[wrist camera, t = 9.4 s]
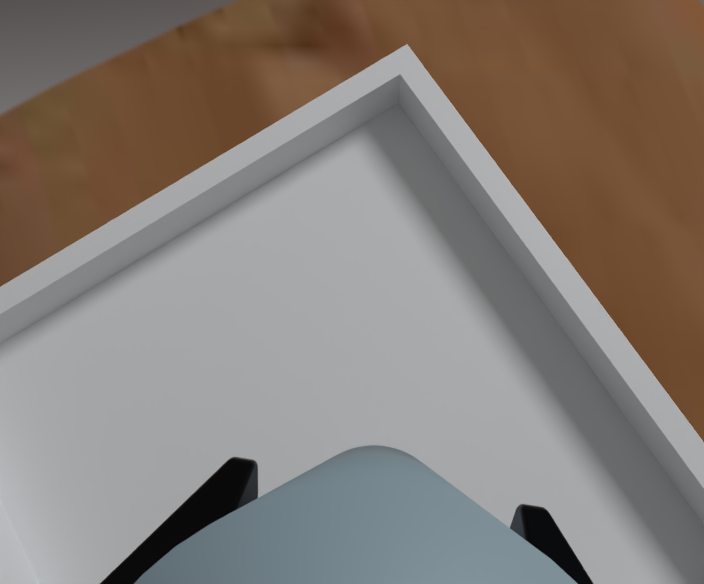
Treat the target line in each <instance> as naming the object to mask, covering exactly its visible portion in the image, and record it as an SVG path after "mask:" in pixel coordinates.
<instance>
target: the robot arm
mask: <svg viewBox="0 0 704 584" xmlns="http://www.w3.org/2000/svg"><path fill="white" fill-rule="evenodd" d="M257 498H258V465H257V462H256V461H255V460H253V459H247V458H241V457H232V458H230V459H228V460H227V461H226V462H225V463H224V464H223V465H222V466H221V467H220V468H219V469H218V470H217V471H216V472H215V473H214V474H213V475H212V476H211V477H210V478H209V479H208V480H207V481H206V482H205V483H204V484H202V485H201V486H200V487H199V488H198V489H197V490H196V491H195V492H194V493H193V494H192V495H191V496H190V497H189V498H188V499H187V500H186V501H185V502H184V503H183V504H182V505H181V506H180V507H179V508H178V509H177V510H176V511H174V512H173V513H172V514H171V515H170V516H169V517H168V518H167V519H166V520H165V521H164V522H163V523H162V524H161V525H160V526H159V527H158V528H157V529H156V530H155V531H154V532H153V533H152V534H151V535H150V536H149V537H148V538H147V539H145V540H144V541H143V542H142V543H141V544H140V545H139V546H138V547H137V548H136V549H135V550H134V551H133V552H132V553H131V554H130V555H129V556H128V557H127V558H126V559H125V560H124V561H123V562H122V563H121V564H120V565H119V566H117V567H116V568H115V569H114V570H113V571H112V572H111V573H110V574H109V575H108V576H107V577H106V578H105V579H104V580H103V581H102V582H101V583H100V584H134V583H135V582H136V581H137V580H138V579H139V578H140V577H141V576H142V574H144V573H145V572H146V571H147V570H148V569H150V568H151V567H152V566H153V565H154V564H155V563H157V562H158V561H159V560H160V559H161V558H162V557H164V556H165V555H166V554H167V553H168V552H169V551H171V550H172V549H173V548H174V547H176V546H177V545H179V544H180V543H182V542H183V541H185V540H186V539H188V538H189V537H191V536H192V535H194V534H196V533H197V532H199V531H200V530H202V529H203V528H205V527H206V526H208V525H209V524H211V523H213V522H215V521H217V520H219V519H220V518H222V517H224V516H226V515H228V514H230V513H231V512H233V511H235V510H237V509H239V508H241V507H242V506H244V505H246V504H248V503H250V502H252V501H253V500H255V499H257ZM510 529H511V530H513V531H514V532H515V533H517V534H518V535H519V536H521V537H522V538H523V539H525V540H526V541H527V542H529V543H530V544H531V545H533V546H534V547H535V548H537V549H538V550H539V551H541V552H542V553H544V554H545V555H546V556H548V557H549V558H550V559H551V560H553V561H554V562H555V563H556V564H557V565H558V566H559V567H560V568H561V569H562V570H563V571H565V572H566V573H567V574H568V575H569V576H570V577H571V578H572V579H573V580H574V581H575V582H576V583H578V584H593V582H592V580H591V579H590V577H589V576H588V574H587V572H586V571H585V569H584V567H583V566H582V564H581V563H580V561H579V559H578V558H577V556H576V555H575V553H574V551H573V550H572V548H571V547H570V545H569V543H568V542H567V540H566V539H565V537H564V535H563V534H562V532H561V531H560V529H559V527H558V526H557V524H556V523H555V521H554V519H553V518H552V516H551V515H550V513H549V512H548V510H546V509H545V508H543V507H540V506H533V505H527V504H520V505H519V506H518V507H517V508H516V511H515V514H514V517H513V520H512V523H511V526H510Z"/></svg>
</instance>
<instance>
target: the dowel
mask: <svg viewBox="0 0 704 584" xmlns="http://www.w3.org/2000/svg"><path fill="white" fill-rule="evenodd" d="M134 584H578V583H576V582H575V581H574V580H573V579H572V578H571V577H570V576H569V575H568V574H567V573H566V572H565V571H563V570H562V569H561V568H560V567H559V566H558V565H557V564H556V563H555V562H554V561H553V560H551V559H550V558H549V557H548V556H546V555H545V554H544V553H542V552H541V551H539V550H538V549H537V548H535V547H534V546H533V545H531V544H530V543H529V542H527V541H526V540H525V539H523V538H522V537H521V536H519V535H518V534H517V533H515V532H514V531H513V530H511V529H510V528H509V527H507V526H506V525H505V524H503V523H502V522H501V521H499V520H498V519H497V518H495V517H494V516H493V515H491V514H490V513H489V512H487V511H486V510H485V509H483V508H482V507H481V506H479V505H478V504H477V503H475V502H474V501H473V500H471V499H470V498H469V497H467V496H466V495H465V494H463V493H462V492H461V491H459V490H458V489H457V488H455V487H454V486H453V485H451V484H450V483H449V482H447V481H446V480H445V479H443V478H442V477H441V476H439V475H438V474H437V473H435V472H434V471H433V470H431V469H430V468H429V467H427V466H426V465H425V464H423V463H422V462H421V461H419V460H418V459H416V458H415V457H413V456H412V455H410V454H408V453H406V452H404V451H401V450H398V449H396V448H391V447H387V446H378V445H370V446H361V447H355V448H352V449H349V450H346V451H344V452H342V453H340V454H338V455H336V456H334V457H332V458H330V459H328V460H327V461H325V462H323V463H321V464H319V465H317V466H316V467H314V468H312V469H310V470H308V471H307V472H305V473H303V474H301V475H299V476H297V477H296V478H294V479H292V480H290V481H288V482H286V483H285V484H283V485H281V486H279V487H277V488H275V489H274V490H272V491H270V492H268V493H266V494H264V495H263V496H261V497H259V498H257V499H255V500H253V501H252V502H250V503H248V504H246V505H244V506H242V507H241V508H239V509H237V510H235V511H233V512H231V513H230V514H228V515H226V516H224V517H222V518H220V519H219V520H217V521H215V522H213V523H211V524H209V525H208V526H206V527H205V528H203V529H202V530H200V531H199V532H197V533H196V534H194V535H192V536H191V537H189V538H188V539H186V540H185V541H183V542H182V543H180V544H179V545H177V546H176V547H174V548H173V549H172V550H171V551H169V552H168V553H167V554H166V555H165V556H164V557H162V558H161V559H160V560H159V561H158V562H157V563H155V564H154V565H153V566H152V567H151V568H150V569H148V570H147V571H146V572H145V573H144V574H142V576H141V577H140V578H139V579H138V580H137V581H136V582H135V583H134Z"/></svg>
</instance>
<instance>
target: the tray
mask: <svg viewBox="0 0 704 584" xmlns="http://www.w3.org/2000/svg"><path fill="white" fill-rule="evenodd" d="M370 445H378V446H387V447H391V448H396V449H398V450H401V451H404V452H406V453H408V454H410V455H412V456H413V457H415V458H416V459H418V460H419V461H421V462H422V463H423V464H425V465H426V466H427V467H429V468H430V469H431V470H433V471H434V472H435V473H437V474H438V475H439V476H441V477H442V478H443V479H445V480H446V481H447V482H449V483H450V484H451V485H453V486H454V487H455V488H457V489H458V490H459V491H461V492H462V493H463V494H465V495H466V496H467V497H469V498H470V499H471V500H473V501H474V502H475V503H477V504H478V505H479V506H481V507H482V508H483V509H485V510H486V511H487V512H489V513H490V514H491V515H493V516H494V517H495V518H497V519H498V520H499V521H501V522H502V523H503V524H505V525H506V526H507V527H509V528H510V526H511V523H512V520H513V517H514V514H515V511H516V508H517V507H518V506H519V505H520V504H527V505H533V506H540V507H543V508H545V509H546V510H548V512H549V513H550V515H551V516H552V518H553V519H554V521H555V523H556V524H557V526H558V527H559V529H560V531H561V532H562V534H563V535H564V537H565V539H566V540H567V542H568V543H569V545H570V547H571V548H572V550H573V551H574V553H575V555H576V556H577V558H578V559H579V561H580V563H581V564H582V566H583V567H584V569H585V571H586V572H587V574H588V576H589V577H590V579H591V580H592V582H593V584H704V442H703V441H702V439H701V438H700V437H699V435H698V434H697V433H696V431H695V430H694V429H693V427H692V426H691V425H690V423H689V422H688V421H687V419H686V418H685V417H684V415H683V414H682V413H681V411H680V410H679V408H678V407H677V406H676V404H675V403H674V402H673V400H672V399H671V398H670V396H669V395H668V394H667V392H666V391H665V390H664V388H663V387H662V386H661V384H660V383H659V382H658V380H657V379H656V378H655V376H654V375H653V374H652V372H651V371H650V370H649V368H648V367H647V366H646V364H645V363H644V361H643V360H642V359H641V357H640V356H639V355H638V353H637V352H636V351H635V349H634V348H633V347H632V345H631V344H630V343H629V341H628V340H627V339H626V337H625V336H624V335H623V333H622V332H621V331H620V329H619V328H618V327H617V325H616V324H615V323H614V321H613V320H612V319H611V317H610V316H609V315H608V313H607V312H606V310H605V309H604V308H603V306H602V305H601V304H600V302H599V301H598V300H597V298H596V297H595V296H594V294H593V293H592V292H591V290H590V289H589V288H588V286H587V285H586V284H585V282H584V281H583V280H582V278H581V277H580V276H579V274H578V273H577V272H576V270H575V269H574V268H573V266H572V265H571V264H570V262H569V261H568V259H567V258H566V257H565V255H564V254H563V253H562V251H561V250H560V249H559V247H558V246H557V245H556V243H555V242H554V241H553V239H552V238H551V237H550V235H549V234H548V233H547V231H546V230H545V229H544V227H543V226H542V225H541V223H540V222H539V221H538V219H537V218H536V217H535V215H534V214H533V213H532V211H531V210H530V208H529V207H528V206H527V204H526V203H525V202H524V200H523V199H522V198H521V196H520V195H519V194H518V192H517V191H516V190H515V188H514V187H513V186H512V184H511V183H510V182H509V180H508V179H507V178H506V176H505V175H504V174H503V172H502V171H501V170H500V168H499V167H498V166H497V164H496V163H495V161H494V160H493V159H492V157H491V156H490V155H489V153H488V152H487V151H486V149H485V148H484V147H483V145H482V144H481V143H480V141H479V140H478V139H477V137H476V136H475V135H474V133H473V132H472V131H471V129H470V128H469V127H468V125H467V124H466V123H465V121H464V120H463V119H462V117H461V116H460V115H459V113H458V112H457V110H456V109H455V108H454V106H453V105H452V104H451V102H450V101H449V100H448V98H447V97H446V96H445V94H444V93H443V92H442V90H441V89H440V88H439V86H438V85H437V84H436V82H435V81H434V80H433V78H432V77H431V76H430V74H429V73H428V72H427V70H426V69H425V68H424V66H423V65H422V64H421V62H420V61H419V59H418V58H417V57H416V55H415V54H414V53H413V51H412V50H411V49H410V47H409V46H408V45H407V44H406V45H405V46H403V47H401V48H400V49H398V50H396V51H395V52H393V53H391V54H390V55H388V56H386V57H385V58H383V59H381V60H380V61H378V62H376V63H375V64H373V65H371V66H370V67H368V68H366V69H365V70H363V71H361V72H360V73H358V74H356V75H355V76H353V77H351V78H349V79H348V80H346V81H344V82H343V83H341V84H339V85H338V86H336V87H334V88H333V89H331V90H329V91H328V92H326V93H324V94H323V95H321V96H319V97H318V98H316V99H314V100H313V101H311V102H309V103H308V104H306V105H304V106H303V107H301V108H299V109H298V110H296V111H294V112H293V113H291V114H289V115H288V116H286V117H284V118H282V119H281V120H279V121H277V122H276V123H274V124H272V125H271V126H269V127H267V128H266V129H264V130H262V131H261V132H259V133H257V134H256V135H254V136H252V137H251V138H249V139H247V140H246V141H244V142H242V143H241V144H239V145H237V146H236V147H234V148H232V149H231V150H229V151H227V152H226V153H224V154H222V155H221V156H219V157H217V158H215V159H214V160H212V161H210V162H209V163H207V164H205V165H204V166H202V167H200V168H199V169H197V170H195V171H194V172H192V173H190V174H189V175H187V176H185V177H184V178H182V179H180V180H179V181H177V182H175V183H174V184H172V185H170V186H169V187H167V188H165V189H164V190H162V191H160V192H159V193H157V194H155V195H154V196H152V197H150V198H148V199H147V200H145V201H143V202H142V203H140V204H138V205H137V206H135V207H133V208H132V209H130V210H128V211H127V212H125V213H123V214H122V215H120V216H118V217H117V218H115V219H113V220H112V221H110V222H108V223H107V224H105V225H103V226H102V227H100V228H98V229H97V230H95V231H93V232H92V233H90V234H88V235H87V236H85V237H83V238H81V239H80V240H78V241H76V242H75V243H73V244H71V245H70V246H68V247H66V248H65V249H63V250H61V251H60V252H58V253H56V254H55V255H53V256H51V257H50V258H48V259H46V260H45V261H43V262H41V263H40V264H38V265H36V266H35V267H33V268H31V269H30V270H28V271H26V272H25V273H23V274H21V275H20V276H18V277H16V278H15V279H13V280H11V281H9V282H8V283H6V284H4V285H3V286H1V287H0V584H100V583H101V582H102V581H103V580H104V579H105V578H106V577H107V576H108V575H109V574H110V573H111V572H112V571H113V570H114V569H115V568H116V567H117V566H119V565H120V564H121V563H122V562H123V561H124V560H125V559H126V558H127V557H128V556H129V555H130V554H131V553H132V552H133V551H134V550H135V549H136V548H137V547H138V546H139V545H140V544H141V543H142V542H143V541H144V540H145V539H147V538H148V537H149V536H150V535H151V534H152V533H153V532H154V531H155V530H156V529H157V528H158V527H159V526H160V525H161V524H162V523H163V522H164V521H165V520H166V519H167V518H168V517H169V516H170V515H171V514H172V513H173V512H174V511H176V510H177V509H178V508H179V507H180V506H181V505H182V504H183V503H184V502H185V501H186V500H187V499H188V498H189V497H190V496H191V495H192V494H193V493H194V492H195V491H196V490H197V489H198V488H199V487H200V486H201V485H202V484H204V483H205V482H206V481H207V480H208V479H209V478H210V477H211V476H212V475H213V474H214V473H215V472H216V471H217V470H218V469H219V468H220V467H221V466H222V465H223V464H224V463H225V462H226V461H227V460H228V459H230V458H232V457H241V458H247V459H253V460H255V461H256V462H257V465H258V498H259V497H261V496H263V495H264V494H266V493H268V492H270V491H272V490H274V489H275V488H277V487H279V486H281V485H283V484H285V483H286V482H288V481H290V480H292V479H294V478H296V477H297V476H299V475H301V474H303V473H305V472H307V471H308V470H310V469H312V468H314V467H316V466H317V465H319V464H321V463H323V462H325V461H327V460H328V459H330V458H332V457H334V456H336V455H338V454H340V453H342V452H344V451H346V450H349V449H352V448H355V447H361V446H370Z"/></svg>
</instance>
